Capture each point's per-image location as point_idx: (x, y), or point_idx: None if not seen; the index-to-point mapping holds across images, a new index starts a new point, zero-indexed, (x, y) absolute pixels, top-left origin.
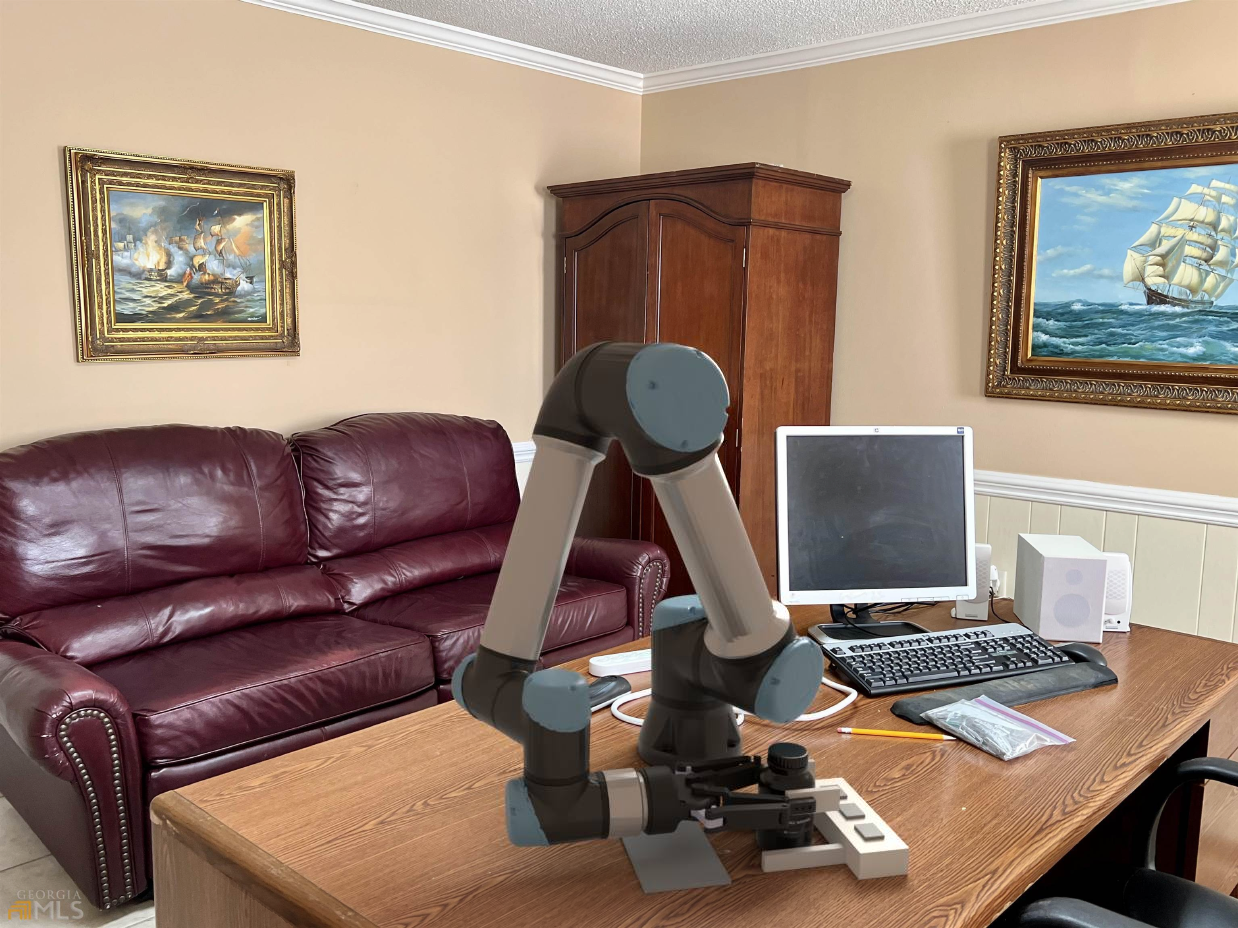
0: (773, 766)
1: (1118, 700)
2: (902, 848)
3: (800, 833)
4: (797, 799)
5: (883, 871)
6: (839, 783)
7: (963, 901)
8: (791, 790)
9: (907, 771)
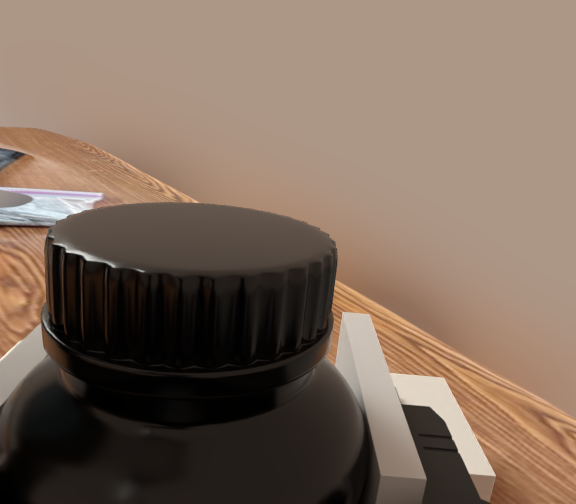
0: (249, 376)
1: (56, 162)
2: (448, 388)
3: None
4: (426, 468)
5: None
6: None
7: (533, 409)
8: (375, 447)
9: (22, 287)
